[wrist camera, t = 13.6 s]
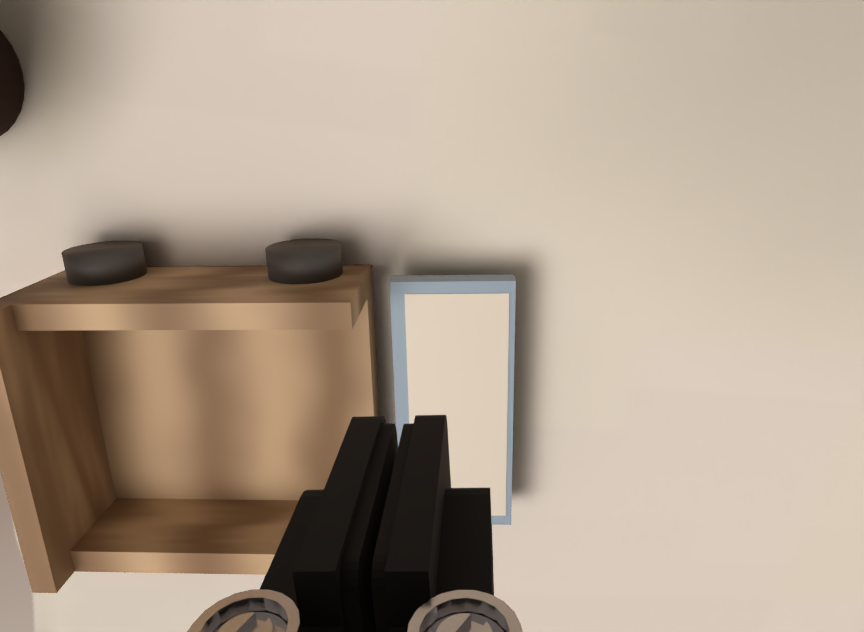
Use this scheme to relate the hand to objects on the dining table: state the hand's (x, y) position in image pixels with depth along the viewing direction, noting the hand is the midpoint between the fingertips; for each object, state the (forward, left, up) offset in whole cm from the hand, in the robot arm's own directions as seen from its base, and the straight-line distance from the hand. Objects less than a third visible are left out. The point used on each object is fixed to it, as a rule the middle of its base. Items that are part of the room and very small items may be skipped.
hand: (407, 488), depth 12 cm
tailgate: (+3, +8, -20) cm, 22 cm away
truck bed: (+12, +8, -22) cm, 27 cm away
